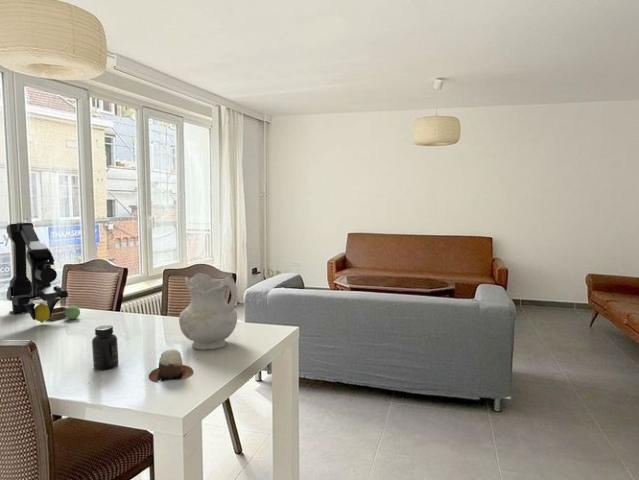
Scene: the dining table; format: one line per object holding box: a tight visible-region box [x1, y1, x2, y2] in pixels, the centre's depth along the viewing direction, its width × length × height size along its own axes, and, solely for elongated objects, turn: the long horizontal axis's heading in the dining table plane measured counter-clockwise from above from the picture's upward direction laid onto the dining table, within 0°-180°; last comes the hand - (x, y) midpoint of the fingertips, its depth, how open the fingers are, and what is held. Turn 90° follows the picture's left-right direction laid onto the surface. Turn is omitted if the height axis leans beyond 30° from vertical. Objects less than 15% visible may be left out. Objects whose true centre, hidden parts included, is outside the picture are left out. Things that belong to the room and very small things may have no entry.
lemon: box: [34, 302, 50, 324], centre depth 181 cm, size 6×6×8 cm
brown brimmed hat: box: [148, 348, 194, 383], centre depth 130 cm, size 12×10×10 cm
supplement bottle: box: [91, 325, 119, 371], centre depth 135 cm, size 7×7×12 cm
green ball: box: [65, 305, 81, 320], centre depth 189 cm, size 6×6×6 cm
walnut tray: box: [46, 306, 69, 321], centre depth 194 cm, size 11×11×2 cm
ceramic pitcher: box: [178, 272, 238, 351], centre depth 155 cm, size 22×20×25 cm
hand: (42, 318), depth 181 cm, fingers closed on lemon, 5 cm apart
